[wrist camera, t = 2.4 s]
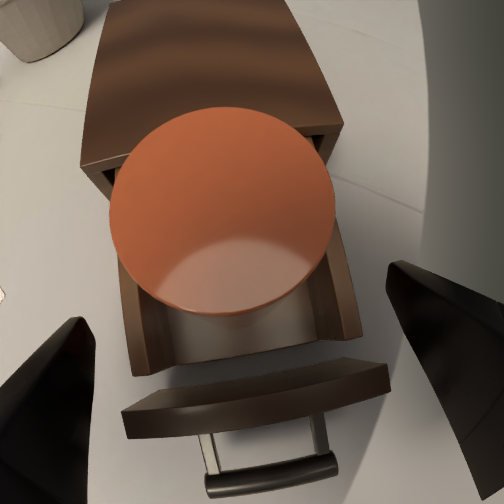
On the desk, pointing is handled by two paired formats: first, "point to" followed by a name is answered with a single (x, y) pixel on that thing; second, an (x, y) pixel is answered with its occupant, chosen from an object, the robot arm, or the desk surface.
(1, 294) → the adhesive hook
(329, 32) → the desk surface
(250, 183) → the orange cylinder
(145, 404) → the drawer
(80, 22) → the potted plant
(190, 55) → the cabinet
